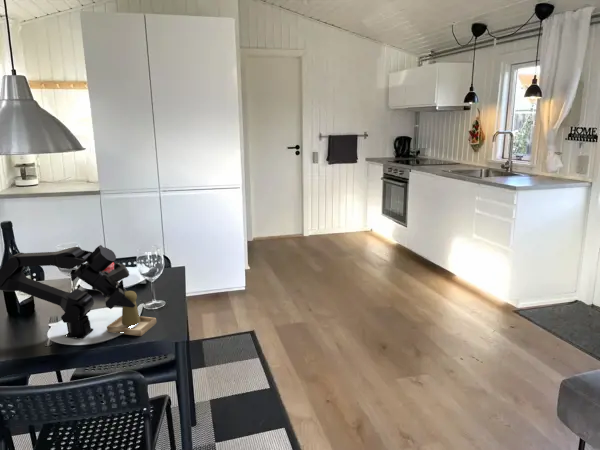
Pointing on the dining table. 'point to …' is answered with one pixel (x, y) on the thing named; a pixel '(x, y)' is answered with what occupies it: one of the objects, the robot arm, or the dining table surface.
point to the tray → (138, 330)
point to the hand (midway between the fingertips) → (133, 303)
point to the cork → (130, 311)
